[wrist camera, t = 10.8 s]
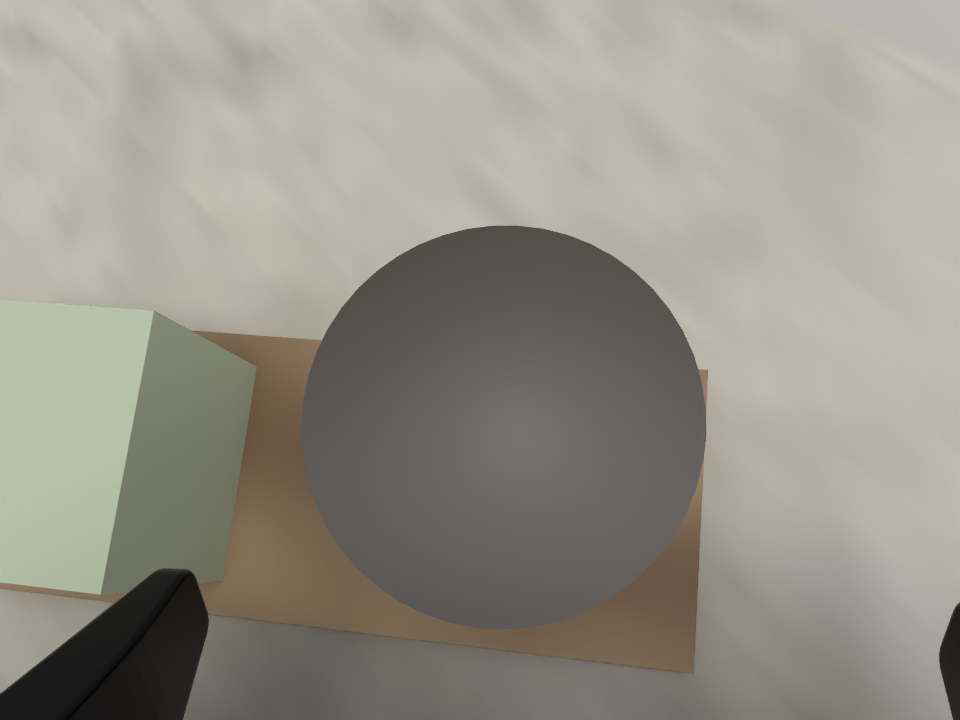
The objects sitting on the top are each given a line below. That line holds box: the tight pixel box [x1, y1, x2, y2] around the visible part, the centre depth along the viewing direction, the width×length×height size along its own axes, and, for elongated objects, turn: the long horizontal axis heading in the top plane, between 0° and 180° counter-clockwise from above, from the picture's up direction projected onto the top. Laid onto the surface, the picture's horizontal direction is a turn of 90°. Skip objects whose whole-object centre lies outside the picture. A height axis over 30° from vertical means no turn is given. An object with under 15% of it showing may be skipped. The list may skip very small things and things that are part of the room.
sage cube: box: [0, 299, 257, 595], centre depth 16 cm, size 5×5×5 cm
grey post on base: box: [0, 226, 708, 674], centre depth 12 cm, size 6×16×13 cm, turn 84°
